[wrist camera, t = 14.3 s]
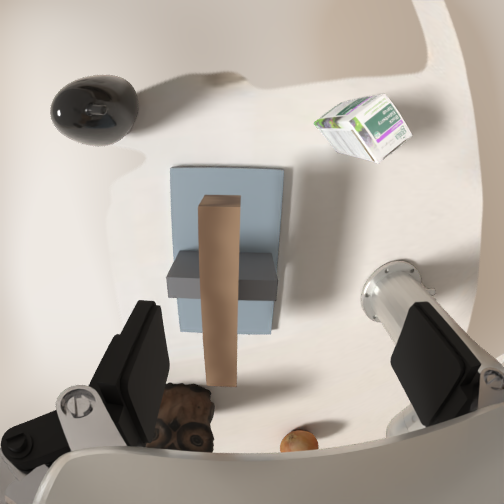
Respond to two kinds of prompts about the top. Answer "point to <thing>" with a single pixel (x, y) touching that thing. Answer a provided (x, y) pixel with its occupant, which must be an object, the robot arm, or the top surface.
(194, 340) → the top surface
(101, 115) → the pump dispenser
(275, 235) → the balance stand
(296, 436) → the onion
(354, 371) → the top surface
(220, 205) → the walnut bar
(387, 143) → the syrup box
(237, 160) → the top surface
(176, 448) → the owl
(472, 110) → the top surface
